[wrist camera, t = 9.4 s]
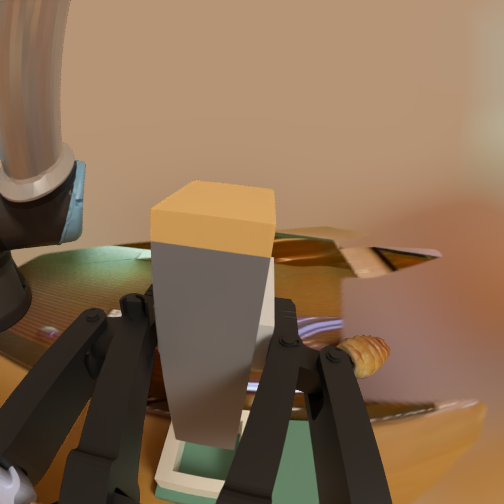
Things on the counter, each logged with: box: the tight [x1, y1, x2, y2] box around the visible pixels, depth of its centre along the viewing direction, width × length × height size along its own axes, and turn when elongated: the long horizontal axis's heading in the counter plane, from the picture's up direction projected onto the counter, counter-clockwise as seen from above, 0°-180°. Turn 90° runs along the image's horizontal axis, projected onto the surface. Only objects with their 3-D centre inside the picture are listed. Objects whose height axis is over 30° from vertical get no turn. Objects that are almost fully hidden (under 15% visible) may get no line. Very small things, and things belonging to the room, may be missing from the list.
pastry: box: [336, 335, 390, 379], centre depth 34 cm, size 9×7×4 cm
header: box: [155, 410, 250, 499], centre depth 19 cm, size 7×9×3 cm
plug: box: [150, 180, 276, 450], centre depth 13 cm, size 4×5×14 cm
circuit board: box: [154, 420, 319, 504], centre depth 19 cm, size 20×11×1 cm, turn 86°
